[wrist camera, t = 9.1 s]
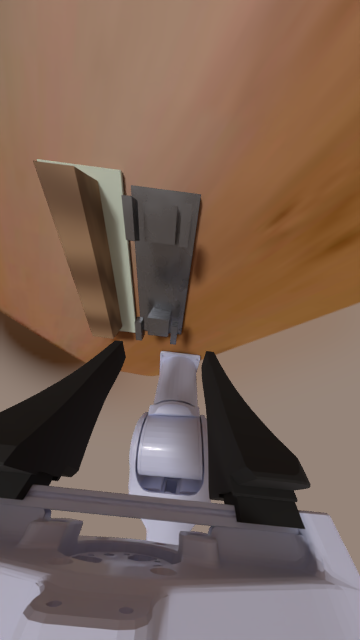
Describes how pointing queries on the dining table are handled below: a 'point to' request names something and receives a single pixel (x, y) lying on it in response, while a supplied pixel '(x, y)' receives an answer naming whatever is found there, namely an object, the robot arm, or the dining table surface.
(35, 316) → the dining table surface
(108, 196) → the mat
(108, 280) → the rail
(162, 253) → the rack
